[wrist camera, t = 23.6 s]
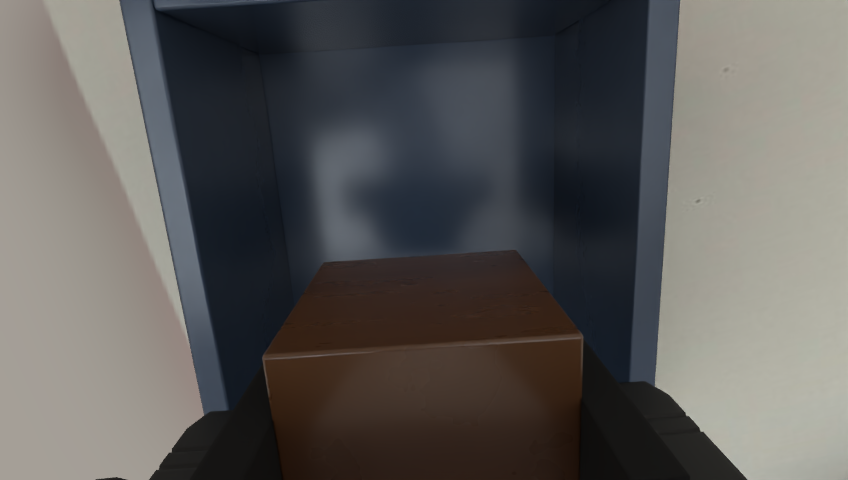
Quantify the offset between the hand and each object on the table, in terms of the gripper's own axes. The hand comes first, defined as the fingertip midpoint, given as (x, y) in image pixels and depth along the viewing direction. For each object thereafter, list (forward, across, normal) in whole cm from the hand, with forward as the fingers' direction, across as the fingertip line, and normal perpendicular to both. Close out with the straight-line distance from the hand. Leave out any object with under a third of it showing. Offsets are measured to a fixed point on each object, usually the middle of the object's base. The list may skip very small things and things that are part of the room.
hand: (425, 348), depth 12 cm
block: (0, 0, 0) cm, 0 cm away
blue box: (+10, 0, 0) cm, 10 cm away
